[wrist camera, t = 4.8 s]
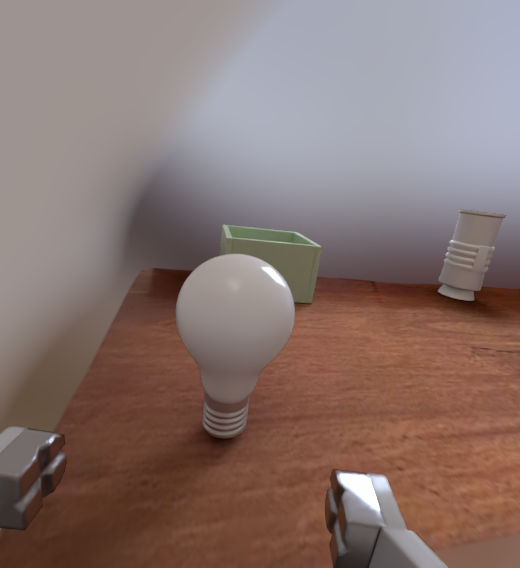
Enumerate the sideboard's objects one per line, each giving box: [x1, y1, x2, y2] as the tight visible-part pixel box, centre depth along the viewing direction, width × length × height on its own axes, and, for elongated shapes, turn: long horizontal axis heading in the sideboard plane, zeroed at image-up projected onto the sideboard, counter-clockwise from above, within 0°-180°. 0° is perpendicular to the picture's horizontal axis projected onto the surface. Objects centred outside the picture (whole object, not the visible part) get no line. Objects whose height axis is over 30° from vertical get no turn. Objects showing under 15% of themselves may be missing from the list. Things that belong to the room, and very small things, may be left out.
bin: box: [220, 225, 322, 303], centre depth 48 cm, size 13×13×8 cm
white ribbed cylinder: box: [438, 209, 506, 301], centre depth 56 cm, size 7×7×15 cm
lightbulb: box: [175, 254, 295, 438], centre depth 18 cm, size 6×6×11 cm
